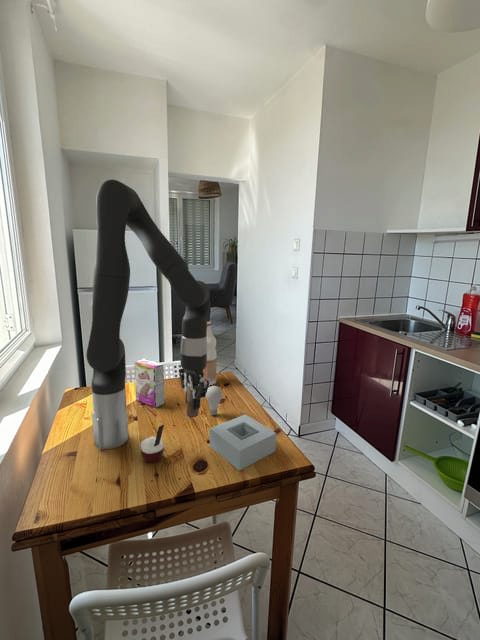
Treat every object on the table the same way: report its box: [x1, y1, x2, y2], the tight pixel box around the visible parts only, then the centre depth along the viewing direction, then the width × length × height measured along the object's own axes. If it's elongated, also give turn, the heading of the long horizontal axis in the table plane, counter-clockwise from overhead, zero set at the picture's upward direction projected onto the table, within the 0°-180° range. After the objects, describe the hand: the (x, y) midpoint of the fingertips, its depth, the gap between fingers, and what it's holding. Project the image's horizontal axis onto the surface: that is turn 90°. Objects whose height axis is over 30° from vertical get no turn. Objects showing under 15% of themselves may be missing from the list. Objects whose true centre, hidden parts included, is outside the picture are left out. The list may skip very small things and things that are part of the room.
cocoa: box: [139, 424, 165, 463], centre depth 88 cm, size 10×6×12 cm, turn 26°
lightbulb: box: [205, 385, 223, 416], centre depth 113 cm, size 6×6×11 cm
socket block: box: [209, 413, 277, 471], centre depth 94 cm, size 14×14×6 cm
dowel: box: [186, 383, 199, 418], centre depth 93 cm, size 3×3×10 cm
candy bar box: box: [134, 358, 165, 409], centre depth 121 cm, size 11×5×16 cm, turn 58°
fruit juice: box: [203, 320, 218, 387], centre depth 140 cm, size 9×9×28 cm
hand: (192, 406), depth 94 cm, fingers closed on dowel, 3 cm apart
